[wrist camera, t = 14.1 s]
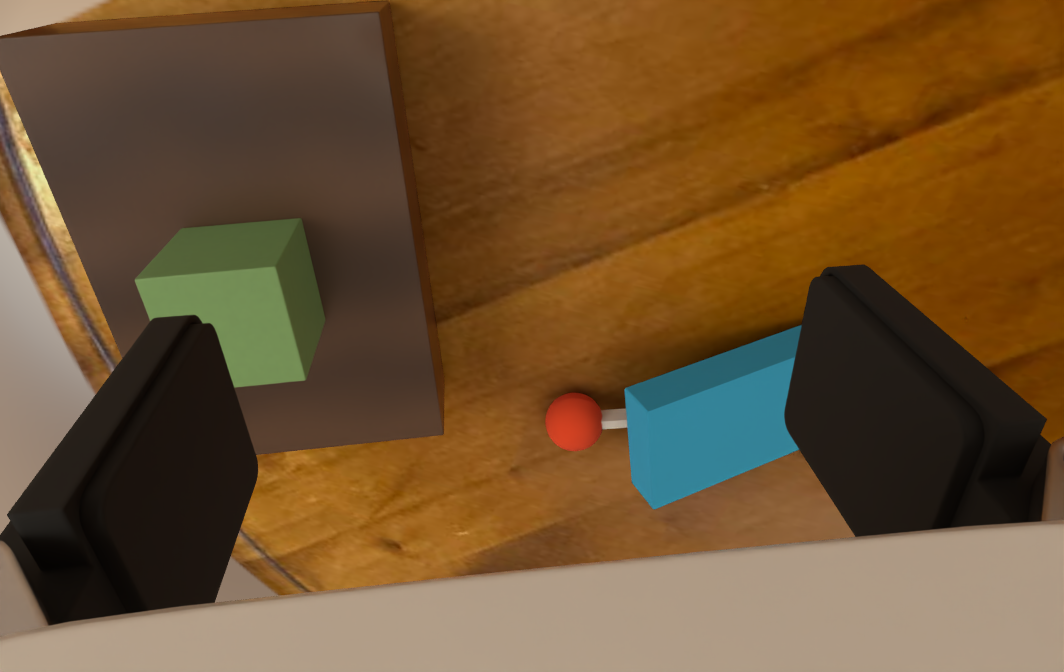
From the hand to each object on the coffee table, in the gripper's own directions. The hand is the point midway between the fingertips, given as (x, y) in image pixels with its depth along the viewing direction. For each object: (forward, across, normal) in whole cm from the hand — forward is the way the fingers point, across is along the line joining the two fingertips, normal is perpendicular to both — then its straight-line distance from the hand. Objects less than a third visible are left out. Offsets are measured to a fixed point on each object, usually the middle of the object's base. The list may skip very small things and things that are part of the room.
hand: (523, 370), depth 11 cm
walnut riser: (+24, +10, +7) cm, 27 cm away
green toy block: (+19, +10, +7) cm, 23 cm away
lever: (+24, -12, +19) cm, 33 cm away
